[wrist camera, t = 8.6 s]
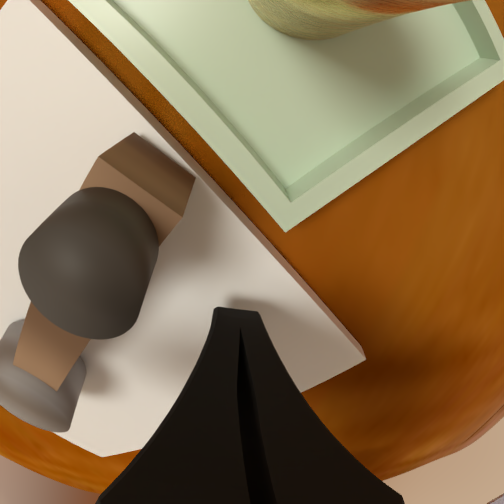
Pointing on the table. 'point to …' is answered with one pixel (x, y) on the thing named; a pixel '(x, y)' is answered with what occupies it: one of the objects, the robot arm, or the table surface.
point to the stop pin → (334, 14)
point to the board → (170, 251)
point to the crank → (88, 276)
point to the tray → (305, 87)
